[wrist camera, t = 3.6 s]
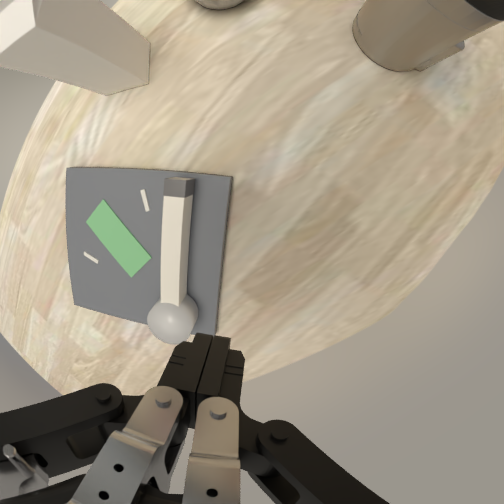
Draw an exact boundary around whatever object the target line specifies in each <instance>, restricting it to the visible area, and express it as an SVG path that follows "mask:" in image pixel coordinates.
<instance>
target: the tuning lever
mask: <svg viewBox="0 0 504 504" xmlns="http://www.w3.org/2000/svg"><path fill="white" fill-rule="evenodd" d="M194 186H195V179H193V178H183V177H171V178H165V179H164V191H163V196H164V201H163V216H162V237H161V297H160V299H159V300H158V301H157V302H156V304H155V305H154V306H153V308H152V309H151V310H150V312H149V313H148V316H147V323H148V327H149V329H150V331H151V332H152V333H153V335H154V336H155V337H156V338H158V339H159V340H161V341H163V342H165V343H168V344H180V343H181V342H183V341H186V340H187V339H188V338H189V336H190V334H191V331H192V329H193V327H194V325H195V323H196V320H197V318H198V307H197V305H196V303H195V301H194V300H193V299H192V298H191V297H190V296H189V295H187V270H188V252H189V237H190V223H191V211H192V200H193V194H194Z"/></svg>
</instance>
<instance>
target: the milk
mask: <svg viewBox="0 0 504 504" xmlns="http://www.w3.org/2000/svg"><path fill="white" fill-rule="evenodd" d="M149 56H150V42H149V41H148V40H146V39H145V38H144V37H143V36H142V35H141V34H140V33H139V32H137V31H136V30H135V29H134V28H133V27H132V26H131V25H129V24H128V23H127V22H126V21H125V20H124V19H122V18H121V17H120V16H119V15H118V14H116V13H115V12H114V11H113V10H111V9H110V8H109V7H108V6H106V5H105V4H104V3H103V2H101V1H100V0H0V67H1V68H7V69H12V70H16V71H22V72H26V73H30V74H34V75H38V76H42V77H46V78H50V79H54V80H57V81H61V82H64V83H68V84H71V85H75V86H78V87H81V88H84V89H87V90H91V91H94V92H97V93H100V94H103V95H106V96H107V95H110V94H114V93H117V92H120V91H124V90H127V89H131V88H135V87H138V86H142V85H146V84H149Z"/></svg>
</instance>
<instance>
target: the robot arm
mask: <svg viewBox="0 0 504 504" xmlns="http://www.w3.org/2000/svg"><path fill="white" fill-rule="evenodd" d="M503 21H504V0H366V2H365V3H364V5H363V6H362V8H361V9H360V10H359V12H358V14H357V16H356V18H355V20H354V22H353V34H354V37H355V40H356V42H357V43H358V45H359V47H360V48H361V49H362V51H363V52H364V53H365V54H366V55H367V56H368V57H369V58H370V59H372V60H373V61H374V62H376V63H377V64H379V65H381V66H383V67H385V68H387V69H390V70H393V71H399V72H402V71H409V70H412V69H416V70H418V71H422V70H424V69H426V68H428V67H430V66H432V65H434V64H436V63H438V62H439V61H441V60H443V59H445V58H447V57H449V56H451V55H453V54H455V53H457V52H459V51H461V50H463V49H464V40H466V39H468V38H470V37H472V36H474V35H476V34H478V33H480V32H482V31H484V30H486V29H488V28H490V27H492V26H494V25H496V24H498V23H501V22H503ZM230 341H231V338H228V337H222V336H216V335H214V337H213V335H209V334H204V333H198V332H197V333H196V335H195V337H194V340H193V342H192V343H191V342H186V341H183V342H181V343H180V344H179V345H177V346H176V347H175V349H174V351H173V353H172V356H171V357H170V359H169V362H168V364H167V366H166V368H165V370H164V372H163V374H162V376H161V378H160V381H159V383H158V385H157V387H153V388H151V389H149V390H148V391H147V392H146V393H145V395H141V396H127V395H122V394H121V392H120V390H119V389H118V388H117V387H115V386H114V385H111V384H106V383H101V384H96V385H93V386H90V387H88V388H85V389H82V390H79V391H76V392H73V393H70V394H67V395H63V396H61V397H57V398H54V399H51V400H48V401H44V402H41V403H37V404H34V405H30V406H27V407H23V408H19V409H16V410H12V411H8V412H4V413H0V504H240V469H243V470H245V471H248V474H249V475H250V476H251V478H252V479H253V480H254V481H255V482H256V483H257V484H258V486H260V488H261V489H262V490H263V491H264V492H265V493H266V494H267V495H268V496H269V497H270V498H271V499H272V501H274V503H275V504H389V503H388V502H386V501H385V500H384V499H382V498H381V497H379V496H378V495H377V494H375V493H374V492H372V491H371V490H370V489H368V488H367V487H366V486H364V485H363V484H362V483H361V482H359V481H358V480H357V479H355V478H354V477H353V476H352V475H350V474H349V473H347V471H345V470H344V469H343V468H342V467H340V466H339V465H338V464H337V463H336V462H334V461H333V460H332V459H331V458H330V457H328V456H327V455H326V454H325V453H324V452H323V451H322V450H320V449H319V448H318V447H317V446H316V445H315V444H314V443H312V442H311V441H310V440H309V439H308V438H307V437H306V436H305V435H304V434H302V433H301V432H300V431H299V430H298V429H297V428H296V427H295V426H294V425H293V424H291V423H289V422H286V421H283V420H271V421H268V422H266V423H261V422H258V421H255V420H253V419H251V418H249V417H248V416H247V415H245V414H244V413H243V411H242V410H241V407H240V395H241V387H242V379H243V371H244V362H245V358H244V356H243V354H242V352H241V351H238V350H231V349H230ZM188 428H193V429H195V431H194V438H193V444H192V450H191V453H190V455H189V459H188V465H187V473H186V479H185V487H184V493H183V494H168V492H169V488H170V481H171V477H172V474H173V472H174V469H175V467H176V464H177V462H178V459H179V456H180V454H181V451H182V449H183V446H184V443H185V438H186V434H187V431H188ZM92 463H93V464H92ZM89 464H92V466H91V467H90V469H89V470H88V472H87V474H82V475H79V476H76V477H73V478H71V479H68V480H65V481H63V482H60V483H57V484H54V485H51V486H48V481H49V478H51V477H54V476H57V475H60V474H63V473H67V472H69V471H72V470H75V469H78V468H81V467H84V466H86V465H89Z"/></svg>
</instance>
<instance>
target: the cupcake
mask: <svg viewBox="0 0 504 504" xmlns="http://www.w3.org/2000/svg"><path fill="white" fill-rule="evenodd" d="M195 1H197V2H198V3H199V4H200V5H202V6H204V7H206V8H209V9H216V10H222V9H228V8H231V7H234V6H236V5H238V4H240V3H241V2H243V1H244V0H195Z"/></svg>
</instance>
